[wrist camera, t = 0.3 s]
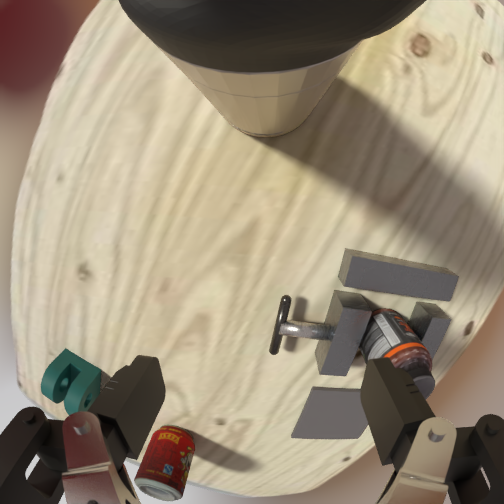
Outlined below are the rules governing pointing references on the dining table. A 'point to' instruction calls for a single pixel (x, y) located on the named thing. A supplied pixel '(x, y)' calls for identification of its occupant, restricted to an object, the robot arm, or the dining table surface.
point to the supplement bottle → (398, 347)
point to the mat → (331, 415)
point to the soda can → (166, 463)
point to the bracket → (71, 382)
